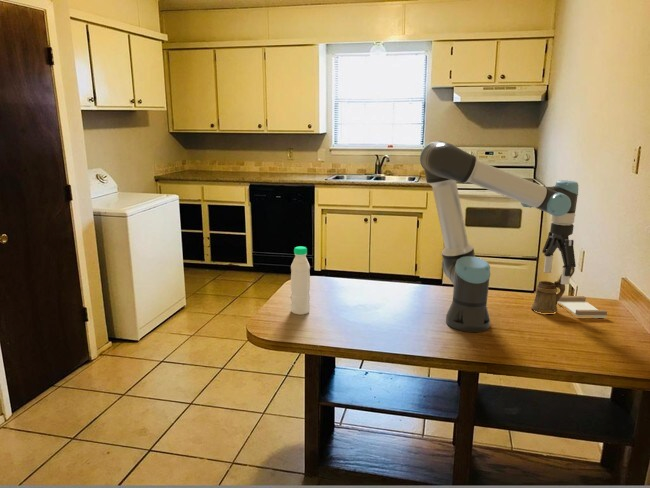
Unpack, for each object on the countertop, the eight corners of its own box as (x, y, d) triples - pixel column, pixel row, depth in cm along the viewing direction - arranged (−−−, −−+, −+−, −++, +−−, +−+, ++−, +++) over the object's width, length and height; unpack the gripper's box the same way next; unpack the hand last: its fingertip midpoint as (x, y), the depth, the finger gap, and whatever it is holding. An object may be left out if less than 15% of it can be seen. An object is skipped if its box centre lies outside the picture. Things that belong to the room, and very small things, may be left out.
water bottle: (310, 308, 188) (311, 245, 181) (308, 315, 181) (308, 250, 175) (292, 307, 188) (292, 244, 182) (289, 314, 182) (289, 249, 175)
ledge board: (576, 318, 182) (578, 311, 181) (555, 303, 198) (556, 296, 197) (605, 318, 183) (607, 311, 182) (582, 303, 198) (583, 296, 197)
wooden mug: (572, 316, 184) (579, 270, 180) (535, 314, 185) (541, 269, 181) (564, 307, 193) (570, 263, 188) (528, 306, 194) (534, 262, 190)
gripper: (591, 230, 169) (583, 289, 174) (555, 216, 193) (549, 268, 198) (570, 230, 168) (562, 289, 174) (537, 216, 192) (531, 268, 198)
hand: (555, 278), depth 186 cm, fingers open, 13 cm apart
